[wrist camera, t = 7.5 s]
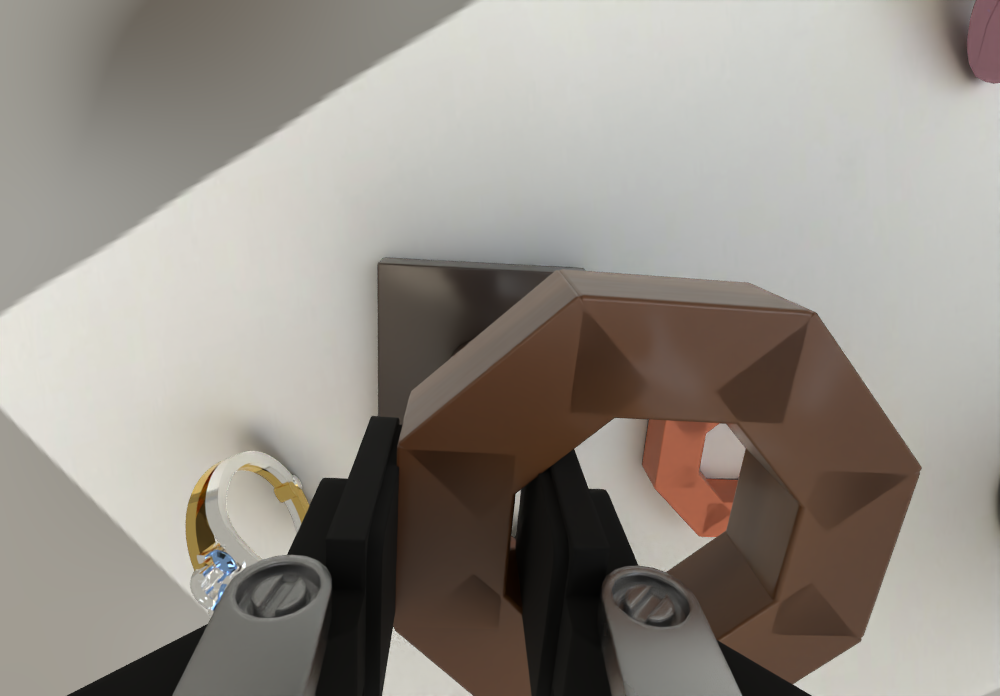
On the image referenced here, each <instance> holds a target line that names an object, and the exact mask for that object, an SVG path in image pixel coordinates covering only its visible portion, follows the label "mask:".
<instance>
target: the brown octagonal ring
mask: <svg viewBox="0 0 1000 696" xmlns="http://www.w3.org/2000/svg"><path fill="white" fill-rule="evenodd" d="M614 418H632V419H651V420H670V421H689V422H708V423H726V424H727V425H728V427H729V428H730V429H731V430H732V432H733V433H734V434H735V435H736V437H737V438H738V439H739V440H740V442H741V443H742V444H743V445H744V447H745V448H746V450H745V454H744V458H743V462H742V466H741V471H740V475H739V479H738V483H737V487H736V492H735V496H734V500H733V504H732V508H731V513H730V517H729V521H728V525H727V529H726V531H725V532H723V533H722V534H720V535H719V536H718V537H716V538H715V539H713V540H712V541H710V542H709V543H707V544H706V545H705V546H703V547H702V548H700V549H699V550H697V551H696V552H695V553H693V554H692V555H690V556H689V557H687V558H686V559H684V560H683V561H682V562H680V563H679V564H677V565H676V566H674V567H673V568H672V569H670V570H669V571H667V572H666V573H668V574H670V575H672V576H673V577H675V578H677V579H678V580H680V581H681V582H682V583H684V584H685V585H686V586H687V587H688V588H689V589H690V590H691V591H692V592H693V594H694V595H695V597H696V598H697V600H698V602H699V604H700V606H701V608H702V610H703V612H704V614H705V617H706V619H707V621H708V623H709V625H710V627H711V630H712V632H713V634H714V636H715V638H716V640H718V641H720V642H722V643H723V644H725V645H727V646H728V647H730V648H732V649H733V650H735V651H737V652H738V653H740V654H742V655H744V656H745V657H747V658H749V659H750V660H752V661H754V662H755V663H757V664H759V665H760V666H762V667H764V668H766V669H767V670H769V671H771V672H772V673H774V674H776V675H777V676H779V677H781V678H782V679H784V680H786V681H788V682H789V683H791V684H794V683H795V682H797V681H799V680H800V679H802V678H803V677H805V676H807V675H808V674H810V673H811V672H813V671H815V670H816V669H818V668H819V667H821V666H822V665H824V664H826V663H827V662H829V661H830V660H832V659H834V658H835V657H837V656H838V655H840V654H842V653H843V652H845V651H846V650H848V649H850V648H851V647H853V646H854V645H856V644H857V643H859V642H861V640H862V639H861V637H863V636H864V633H865V630H866V627H867V624H868V621H869V619H870V616H871V613H872V610H873V607H874V604H875V601H876V598H877V596H878V593H879V590H880V587H881V584H882V581H883V578H884V575H885V573H886V570H887V567H888V564H889V561H890V558H891V555H892V552H893V550H894V547H895V544H896V541H897V538H898V535H899V532H900V529H901V527H902V524H903V521H904V518H905V515H906V512H907V509H908V506H909V504H910V501H911V498H912V495H913V492H914V489H915V486H916V483H917V481H918V478H919V475H920V470H921V469H922V467H921V466H920V464H919V463H918V461H917V460H916V458H915V457H914V455H913V454H912V452H911V451H910V449H909V448H908V446H907V445H906V444H905V442H904V441H903V439H902V438H901V436H900V435H899V433H898V432H897V430H896V429H895V427H894V426H893V424H892V423H891V422H890V420H889V419H888V417H887V416H886V414H885V413H884V411H883V410H882V408H881V407H880V405H879V404H878V402H877V401H876V399H875V398H874V397H873V395H872V394H871V392H870V391H869V389H868V388H867V386H866V385H865V383H864V382H863V380H862V379H861V377H860V376H859V375H858V373H857V372H856V370H855V369H854V367H853V366H852V364H851V363H850V361H849V360H848V358H847V357H846V355H845V354H844V352H843V351H842V350H841V348H840V347H839V345H838V344H837V342H836V341H835V339H834V338H833V336H832V335H831V333H830V332H829V330H828V329H827V328H826V326H825V325H824V323H823V322H822V320H821V319H820V317H819V316H818V314H817V313H816V312H813V311H811V310H809V309H807V308H804V307H802V306H800V305H798V304H795V303H793V302H791V301H789V300H787V299H784V298H782V297H780V296H778V295H775V294H773V293H771V292H769V291H766V290H764V289H762V288H760V287H757V286H755V285H753V284H750V283H746V282H732V281H718V280H704V279H690V278H676V277H662V276H649V275H635V274H621V273H607V272H593V271H579V270H565V269H562V270H556V271H554V272H553V273H552V274H551V275H550V276H548V277H547V278H546V279H545V280H544V281H542V282H541V283H540V284H539V285H538V286H536V287H535V288H534V289H533V290H532V291H530V292H529V293H528V294H527V295H526V296H524V297H523V298H522V299H521V300H520V301H519V302H517V303H516V304H515V305H514V306H513V307H511V308H510V309H509V310H508V311H507V312H505V313H504V314H503V315H502V316H501V317H499V318H498V319H497V320H496V321H495V322H493V323H492V324H491V325H490V326H489V327H487V328H486V329H485V330H484V331H483V332H481V333H480V334H479V335H478V336H477V337H475V338H474V339H473V340H472V341H471V342H469V343H468V344H467V345H466V346H465V347H463V348H462V349H461V350H460V351H459V352H457V353H456V354H455V355H454V356H453V357H451V358H450V359H449V360H448V361H447V362H445V363H444V364H443V365H442V366H441V367H439V368H438V369H437V370H436V371H435V372H434V373H432V374H431V375H430V376H429V377H428V378H426V379H425V380H424V381H423V382H422V383H420V384H419V385H418V386H417V387H416V388H414V389H413V390H412V391H411V393H410V396H409V400H408V404H407V408H406V412H405V416H404V420H403V424H402V428H401V432H400V437H399V441H398V445H397V467H399V493H398V527H397V561H396V596H395V616H394V623H393V627H394V629H395V631H396V632H398V633H399V634H400V635H401V636H402V637H404V638H405V639H406V640H407V641H408V642H410V643H411V644H412V645H413V646H414V647H416V648H417V649H418V650H419V651H420V652H422V653H423V654H424V655H425V656H426V657H428V658H429V659H430V660H431V661H432V662H434V663H435V664H436V665H437V666H438V667H440V668H441V669H442V670H443V671H444V672H446V673H447V674H448V675H449V676H450V677H452V678H453V679H454V680H455V681H456V682H458V683H459V684H460V685H461V686H462V687H464V688H465V689H466V690H467V691H468V692H470V693H471V694H472V695H473V696H532V695H531V687H530V678H529V670H528V661H527V653H526V645H525V636H524V628H523V619H522V613H523V611H522V601H521V592H520V584H519V576H518V567H517V559H516V551H515V546H516V540H515V539H514V538H513V537H512V536H511V533H512V523H513V513H514V504H515V494H516V493H517V492H518V491H519V490H521V489H522V488H523V487H525V486H526V485H527V484H529V483H530V482H531V481H532V480H534V479H535V478H536V477H538V474H539V473H543V472H544V471H546V470H547V469H548V468H549V467H551V466H552V465H553V464H555V463H556V462H557V461H559V460H560V459H561V458H563V457H564V456H565V455H566V454H568V453H569V452H570V451H572V450H573V449H574V448H576V447H577V446H578V445H580V444H581V443H582V442H583V441H585V440H586V439H587V438H589V437H590V436H591V435H593V434H594V433H595V432H597V431H598V430H599V429H600V428H602V427H603V426H604V425H606V424H607V423H608V422H610V421H611V420H612V419H614Z"/></svg>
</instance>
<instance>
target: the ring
mask: <svg viewBox="0 0 1000 696" xmlns="http://www.w3.org/2000/svg"><path fill="white" fill-rule="evenodd" d="M239 470H246V471H251V472H254V473H257V474H259V475H261V476H262V477H264V478H265V479H266V480H267V481H269V482H270V483H271V484H272V485H273V487H274V493H275V495H276V497H277V498H278V500H279V501H280V502H282V503H283V502H285V504H286V506H287V508H288V510H289V512H290V514H291V516H292V519H293V522H294V525H295V528H296V532H298V530H299V528H300V526H301V523H302V521H303V519H304V517H305V515H306V512H307V510H308V508H309V503H308V501H307V499H306V497H305V495H304V493H303V491H302V490H301V489H302V484H301V482H300V480H299V479H298V477H297V476H296V475H293V476H292V474H291V473H290V472H289V471H288V470H287V469H286V468H285V467H284V466H283V465H282V464H281V463H280V462H279V461H277V460H276V459H275V458H273V457H271V456H270V455H268V454H265V453H262V452H258V451H246V452H242V453H239V454H237V455H234V456H231V457H229V458H227V459H225V460H223V461H220V462H218V463H217V464H215V465H213V466H212V467H211V468H209V469H208V470H207V471H206V472H205V473H204V474H203V475H202V477H201V478H200V479H199V481H198V482H197V484H196V485H195V487H194V489H193V492H192V494H191V497H190V500H189V503H188V507H187V513H186V540H187V546H188V551H189V555H190V559H191V562H192V565H193V568H194V572H193V574H192V577H191V581H190V587H191V591H192V594H193V596H194V597H195V599H196V600H197V601H198V602H199V603H200V604H201V605H202V606H203V607H205V608H206V609H208V613H209V616H212V615H213V613H214V611H215V609H216V607H217V605H218V603H219V601H220V599H221V597H222V595H223V593H224V591H225V589H226V587H227V586H228V584H229V583H230V582H231V580H232V579H233V578H234V577H235V576H236V575H237V574H238V573H240V572H241V571H242V570H244V569H245V568H246V567H248V566H250V565H252V564H254V563H256V562H258V561H260V560H263V559H262V558H261V557H260V556H259V555H257V554H256V553H255V552H254V551H253V550H252V549H251V548H250V547H249V546H248V545H247V544H246V543H245V542H244V541H243V540H242V539H241V537H240V536H239V535H238V534H237V532H236V531H235V529H234V527H233V526H232V524H231V522H230V519H229V516H228V512H227V492H228V488H229V484H230V481H231V479H232V477H233V475H234V474H235V472H236V471H239ZM214 536H215V538H216V539H217V541H218V542H219V543H216V542H215V539H214Z"/></svg>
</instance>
